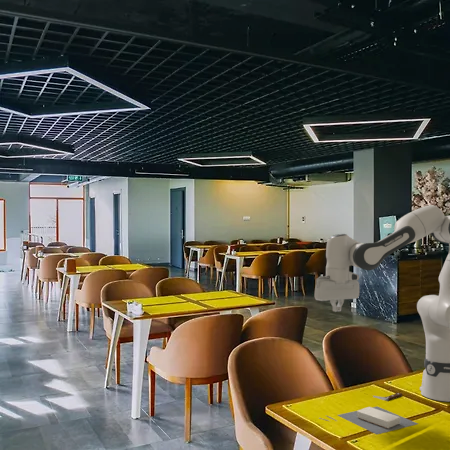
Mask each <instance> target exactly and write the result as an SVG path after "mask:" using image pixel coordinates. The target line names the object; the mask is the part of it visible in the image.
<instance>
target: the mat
mask: <svg viewBox="0 0 450 450" xmlns="http://www.w3.org/2000/svg"><path fill="white" fill-rule="evenodd" d="M371 408H374V409H377V410H380V411H383V412H386V413H389V414H392V415H395V416H398V417H400V423H399V424H397V425H395V426H392V427H390V428H388V429H387V428H385V427H382V426H379V425H376V424H374V423H371V422H368V421H365V420H362V419H360V418H358V417H357V411H358V410H355V411H350V412H346V413H340V414H337V416H338V417H341V418H342V419H344V420H346V421H348V422H350V423H352V424H354V425H356V426H358V427H361V428H363V429H364V430H367V431H369V432H371V433H373V434H375V435H379V434H380V435H381V434H385V433H388V432H391V431H396V430H400V429H404V428H408V427H411V426H415V425H419V423H417V422H415V421H413V420H411V419H408V418H407V417H406V418H405V417H403V416H401V415H399V414H396V413H394V412H392V411H389V410H387V409H384V408H382V407H380V406H373V407H372V406H371Z"/></svg>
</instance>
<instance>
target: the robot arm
mask: <svg viewBox="0 0 450 450" xmlns="http://www.w3.org/2000/svg"><path fill="white" fill-rule="evenodd" d="M393 229H394V231H393V232H391V233H390V234H388V235H386V236H385V237H383V238H382V239H380V240H378V241H376V242H365V243H362V242H360V241H357V240H355V239H353V238H352V237H350V236H349V235H348V234H347V233H346V234H345V233H340V234H333V235H331V236H329V237H328V238H327V241H326V251H325V258H326V266H325V275H324V276H323V275H321V276H318V277H317V278H316V280H315V288H314V299H315V300H316V301H320V302H324V301H325V302H326V301H329V302H330V304H331V307H332V312H335V313H336V312H341V311H342V307H343V304H344V302H345V300H354V299H358V298H359V296H360V282H359V279H360V275H359V274H357V273H354V272H352V271H350V267H351V266H353V267H355V268H359V269H362V270H363V271H373V270H375V269H377V268H378V267H380V265H381V264H382V262H383V261H384V260H385V259H386V258H387V257H388V256H390V255H392V254H394V253H395V252H397V251H398V250H399V249H402V248H403V247H405V246H406V245H410V244H411V243H414V242H417V241H419V240H421V239H423V238H425V237H427V236H428V235H431V237H432V238H433V239H434V240H435V241H437V242H440V243H448V246H449V247H448V254H447V256H446V258H445V261H444V263H443V265H442V268H441V270H440V272H439V276H438V282H439V291H438V292H439V293H438V295H437V294H429V295H423V296H422V297H420V299H418V301H417V302H416V309H417V312H418V314H419V316H420V319H421V322H422V323H421V324H422V326H423V331H424V335H425V336H424V337H425V338H424V339H425V357H424V361H423V362H424V363H423V364H424V365H423V366H424V368H425V369H424V370H423V372H422V379H421V381H422V382H421V386H419V391H421V392H420V394H421V395H422V396H424V398H425V397H426V398H427V399H430V400H434V401H438V402H450V215H444V213H443V211H442V210H441V208H439V207H438V206H437V205H434V204H433V205H432V204H430V205H426V206H422V207H419V208H417V209H414V210H413V211H411V212H408V213H406V214H404V215H403V216H401V217H400V218H399V219H398V220H396V222H395V223H394V228H393ZM336 303H337V304H336Z"/></svg>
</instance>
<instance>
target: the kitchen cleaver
mask: <svg viewBox="0 0 450 450" xmlns="http://www.w3.org/2000/svg"><path fill="white" fill-rule="evenodd" d="M372 396H373V397H372V398H376V399H379V400H382V401H386V402H389V401H392V400H394V399H398V398H400V397H401V398H402V396H403V394H402V393H401V392H395V393H394V394H391V395H388V396H378V395H372Z"/></svg>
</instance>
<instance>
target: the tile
mask: <svg viewBox="0 0 450 450" xmlns="http://www.w3.org/2000/svg"><path fill="white" fill-rule="evenodd" d="M356 411H357V417H358V418H360V419H362V420H365V421H368V422H371V423H374V424H376V425H379V426H382V427H385V428H387V429H388V428H390V427H392V426H395V425H397V424H399V423H400V417H398V416H395V415H392V414H389V413H386V412H383V411H380V410H377V409H374V408H372V406H367V407H364V408H361V409H358V410H356Z"/></svg>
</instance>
